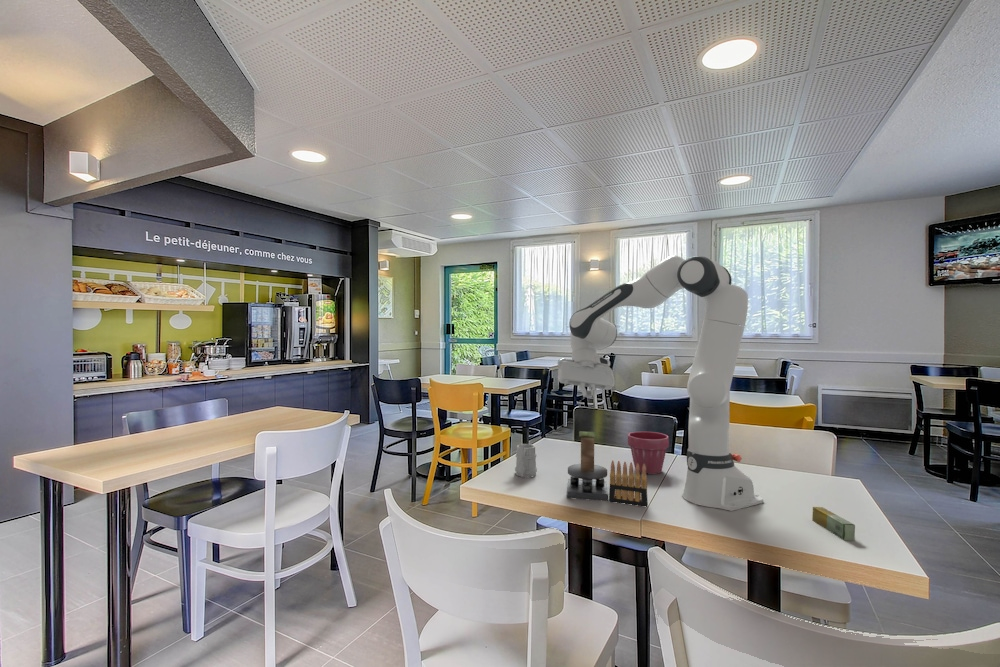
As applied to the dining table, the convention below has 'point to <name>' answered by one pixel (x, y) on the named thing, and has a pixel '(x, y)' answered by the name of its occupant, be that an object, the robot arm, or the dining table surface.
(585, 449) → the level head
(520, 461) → the mug
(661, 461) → the plant pot
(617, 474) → the ammunition clip
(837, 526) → the medication box
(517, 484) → the dining table surface
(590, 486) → the stand
